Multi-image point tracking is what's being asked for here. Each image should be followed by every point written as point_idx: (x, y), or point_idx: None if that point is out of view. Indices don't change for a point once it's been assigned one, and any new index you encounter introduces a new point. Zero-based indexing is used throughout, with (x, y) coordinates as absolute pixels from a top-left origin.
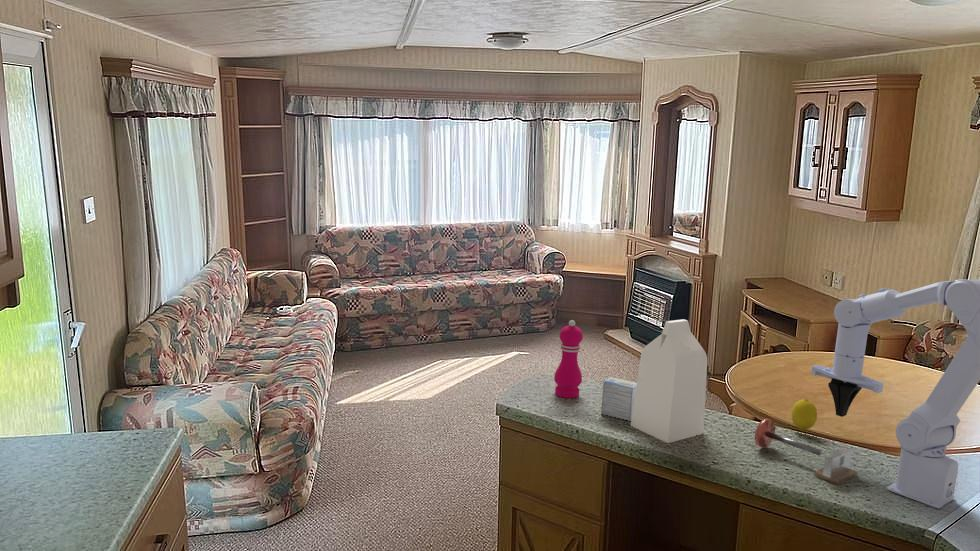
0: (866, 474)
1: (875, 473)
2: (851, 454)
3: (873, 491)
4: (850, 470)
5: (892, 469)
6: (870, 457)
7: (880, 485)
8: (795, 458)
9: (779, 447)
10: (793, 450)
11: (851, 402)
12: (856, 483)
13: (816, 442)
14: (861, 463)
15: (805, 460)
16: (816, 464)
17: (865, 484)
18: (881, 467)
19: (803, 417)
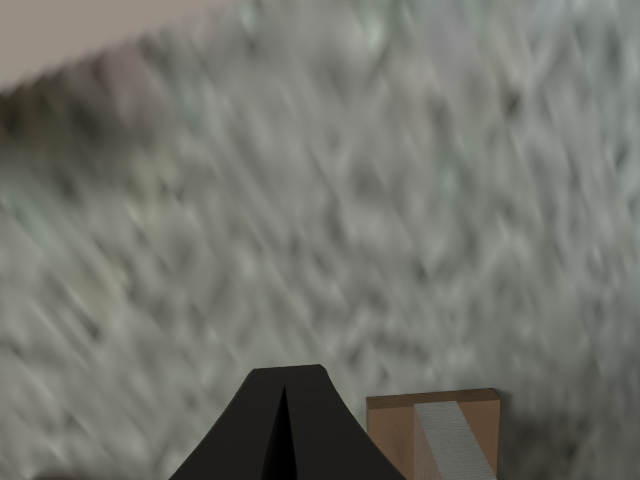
0: (516, 332)
1: (542, 277)
2: (485, 459)
3: (612, 475)
4: (469, 417)
5: (585, 127)
6: (422, 61)
7: (612, 391)
8: None
9: (55, 427)
10: (120, 395)
11: (378, 453)
12: (528, 467)
13: (90, 150)
14: (433, 214)
15: None
16: None
17: (560, 442)
18: (531, 160)
19: None
